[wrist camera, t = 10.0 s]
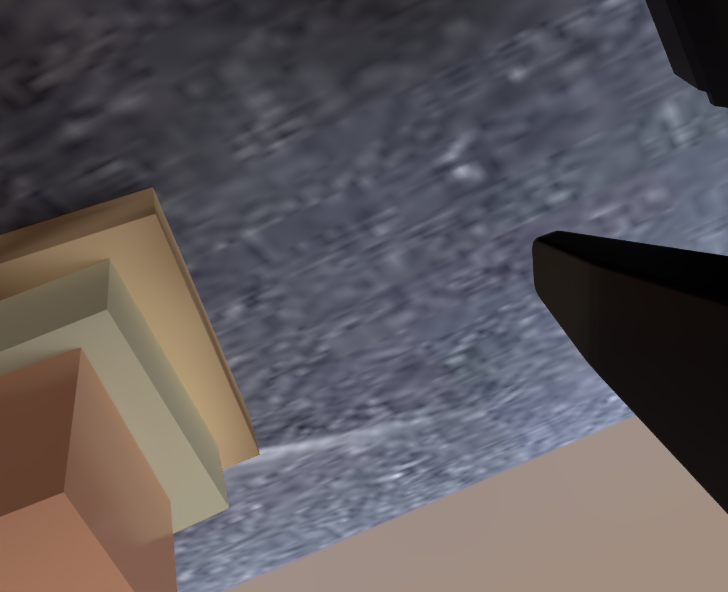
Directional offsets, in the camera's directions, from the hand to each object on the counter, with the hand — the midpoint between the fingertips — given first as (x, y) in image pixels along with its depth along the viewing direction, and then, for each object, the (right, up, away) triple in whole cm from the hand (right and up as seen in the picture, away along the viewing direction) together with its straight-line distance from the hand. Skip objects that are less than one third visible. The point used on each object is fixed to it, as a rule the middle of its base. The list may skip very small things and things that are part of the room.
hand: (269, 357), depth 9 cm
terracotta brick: (-7, -4, +7) cm, 11 cm away
